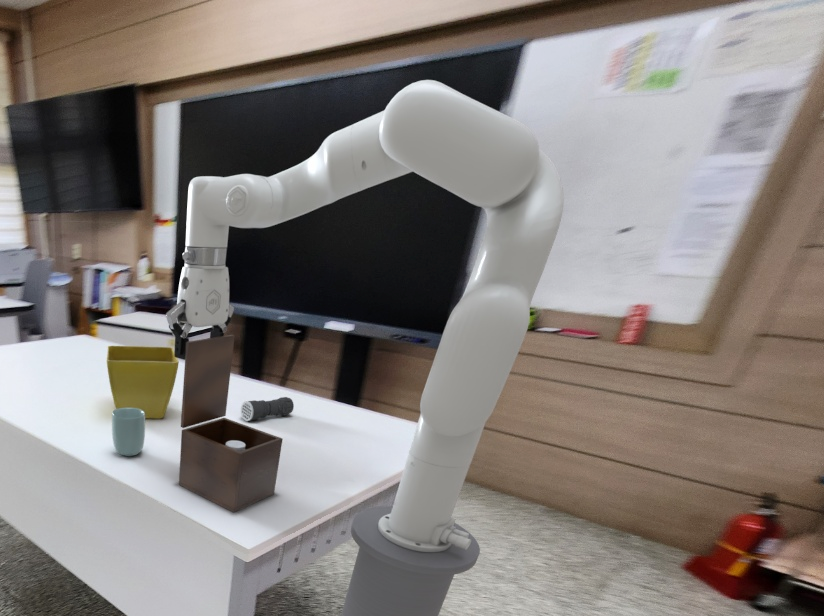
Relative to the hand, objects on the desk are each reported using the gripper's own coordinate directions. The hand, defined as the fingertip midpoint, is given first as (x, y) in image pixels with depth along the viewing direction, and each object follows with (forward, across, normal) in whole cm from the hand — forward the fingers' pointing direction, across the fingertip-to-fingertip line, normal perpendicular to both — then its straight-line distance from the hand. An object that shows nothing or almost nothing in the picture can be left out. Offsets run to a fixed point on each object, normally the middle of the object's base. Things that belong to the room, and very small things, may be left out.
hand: (198, 355), depth 102 cm
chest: (+26, 0, -11) cm, 28 cm away
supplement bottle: (+25, 0, -12) cm, 28 cm away
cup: (+26, -4, +17) cm, 31 cm away
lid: (+5, 0, -3) cm, 6 cm away
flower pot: (+26, +18, +39) cm, 51 cm away
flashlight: (+26, +44, +14) cm, 53 cm away
